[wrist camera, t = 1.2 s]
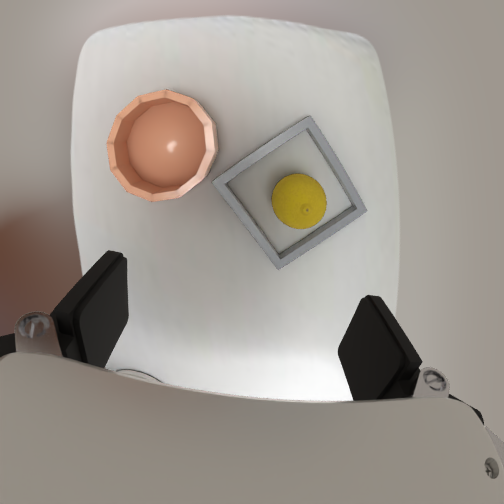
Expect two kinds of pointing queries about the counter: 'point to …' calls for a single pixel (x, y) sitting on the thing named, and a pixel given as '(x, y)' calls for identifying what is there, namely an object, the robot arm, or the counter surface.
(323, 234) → the gray square frame
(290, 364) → the counter surface
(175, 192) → the bowl
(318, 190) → the lemon
